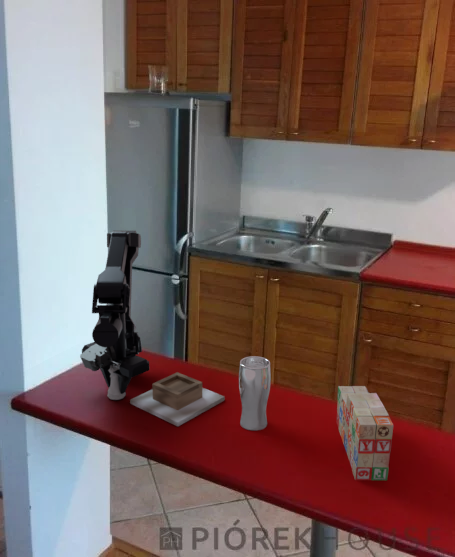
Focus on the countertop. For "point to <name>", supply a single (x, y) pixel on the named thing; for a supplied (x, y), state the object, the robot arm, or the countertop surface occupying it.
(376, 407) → the stack of blocks
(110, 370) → the rook chess piece
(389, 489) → the countertop surface
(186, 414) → the board
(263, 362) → the beer glass
